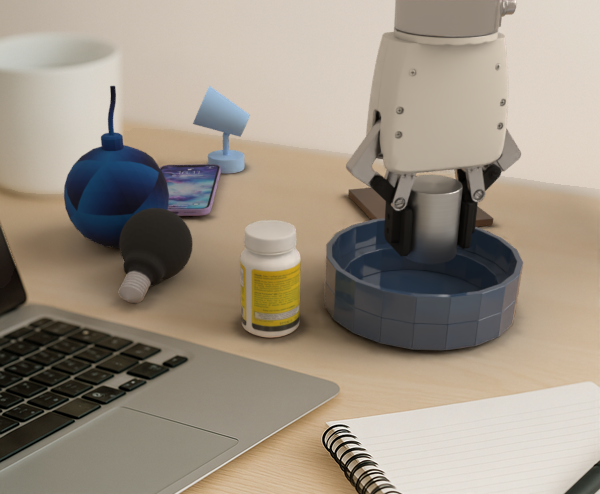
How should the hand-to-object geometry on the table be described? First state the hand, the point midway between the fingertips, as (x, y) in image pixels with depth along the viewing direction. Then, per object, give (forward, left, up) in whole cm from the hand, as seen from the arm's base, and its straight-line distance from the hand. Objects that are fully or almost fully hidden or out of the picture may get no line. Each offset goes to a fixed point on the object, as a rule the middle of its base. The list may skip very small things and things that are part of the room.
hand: (428, 243), depth 68 cm
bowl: (0, 0, -6) cm, 6 cm away
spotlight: (+9, -40, -6) cm, 42 cm away
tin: (0, 0, -1) cm, 1 cm away
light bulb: (+21, -10, -6) cm, 24 cm away
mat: (-9, -21, -6) cm, 23 cm away
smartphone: (+15, -32, -6) cm, 36 cm away
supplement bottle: (+13, 0, -6) cm, 15 cm away
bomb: (+23, -20, -6) cm, 31 cm away
